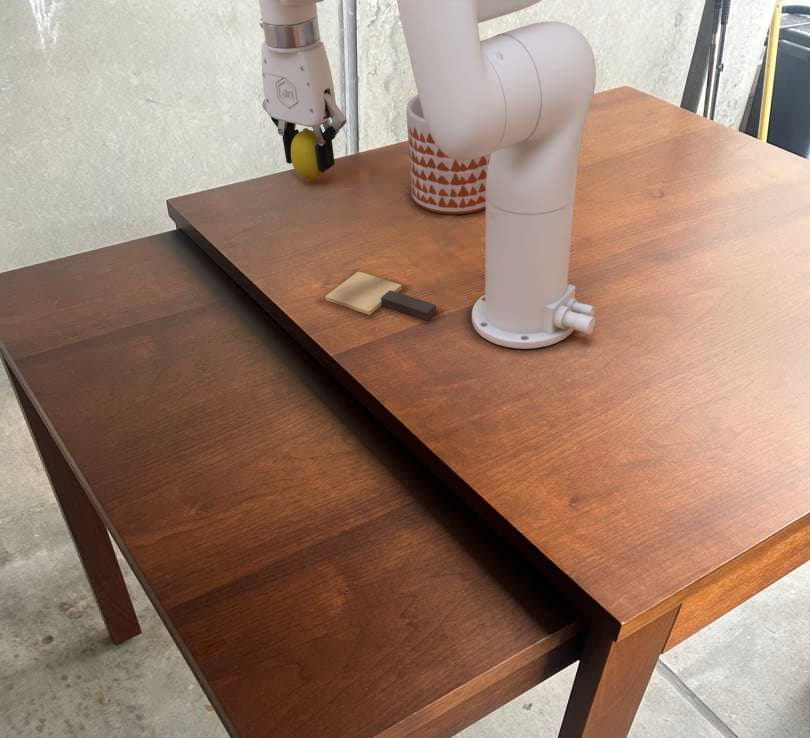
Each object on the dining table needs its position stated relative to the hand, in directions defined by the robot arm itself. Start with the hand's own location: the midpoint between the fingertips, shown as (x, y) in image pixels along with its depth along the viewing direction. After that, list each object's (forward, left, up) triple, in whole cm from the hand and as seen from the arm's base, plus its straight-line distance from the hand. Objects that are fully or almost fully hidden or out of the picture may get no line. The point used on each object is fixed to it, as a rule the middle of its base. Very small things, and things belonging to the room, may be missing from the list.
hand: (310, 163), depth 131 cm
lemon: (0, 0, -3) cm, 3 cm away
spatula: (-30, +22, -3) cm, 37 cm away
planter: (-22, -7, -3) cm, 23 cm away
